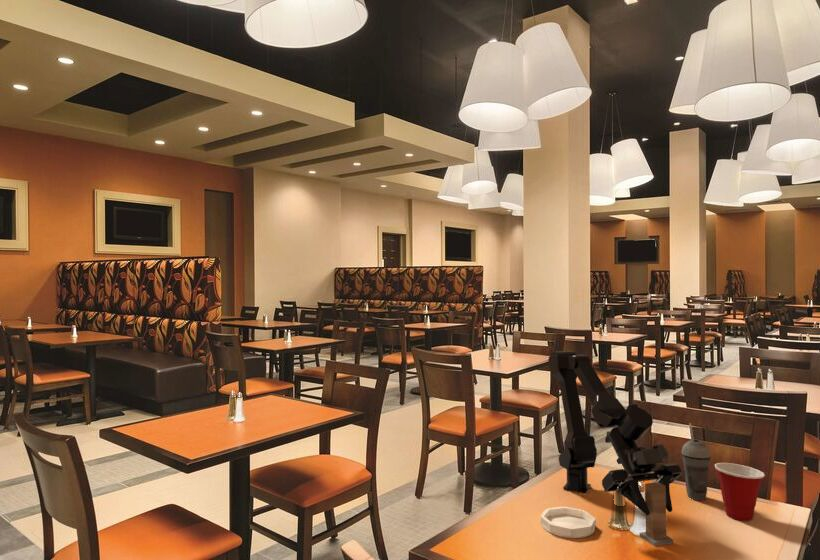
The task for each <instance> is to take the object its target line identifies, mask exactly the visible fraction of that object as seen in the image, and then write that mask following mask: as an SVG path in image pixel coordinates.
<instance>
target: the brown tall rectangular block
mask: <svg viewBox="0 0 820 560" xmlns="http://www.w3.org/2000/svg"><path fill="white" fill-rule="evenodd" d="M644 500H645V502H646V504H647V506H648V509H649V511H650V514H649V515H646V514H645V531H643V532H639V537H640V538H642V539H643V540H644V541H646V542H648V543H649V544H650V545H652V546H653V547H657V546H664V545H669V544H674V539H673V538H672V537H670V536H668V535H667V509H666V486H665V485H663V484H661V483H659V482H655V483H653V482H648V483H645V484H644Z"/></svg>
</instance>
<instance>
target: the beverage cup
mask: <svg viewBox="0 0 820 560" xmlns="http://www.w3.org/2000/svg"><path fill="white" fill-rule="evenodd" d="M689 429H690V430H689V431H690V436H691V439H689V440H688V441H686V442H685V443H684V444H683V445H682V448H681V453H680V455H681V460H682V462H683V463H682V464H683V470H684V472H683V474H684V479H685V480H684V481H685V482H684V483H685V488H686V489H685V490H686V494H687V495H686V496H688V497H689V498H691V499H690V500H692V499H693V501H696V500H699V501H698V502H703V500H704V501H706V500H707V495H708V483H709V482H708V480H709V469H710V467H709V466H710V463H711V458H712V456H711V451H710V449H709V447H708V446H707V445H706V444H705V443H704V442H703V441H700V440H699V439H694V433H693V426H692V423H689ZM688 497H687V498H688ZM689 498H688V499H689ZM705 499H706V500H705Z"/></svg>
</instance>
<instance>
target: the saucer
mask: <svg viewBox="0 0 820 560" xmlns="http://www.w3.org/2000/svg"><path fill="white" fill-rule="evenodd" d="M540 524H541V526H542V528H543V529H544V530H545V531H546V532H547V533H549V534H552V535H555V536H557V537H559V538H560V537H561V538H566V539H567V538H568V539H583V538H588V537H590V536H592V535H593V534H594V533H595V531H596V517H594V516H593V515H592V514H590V513H589V512H588V511H586V510H583V509H579V508H574V507H570V506H557V507H550V508H546V509H545V510H544V511H543V512H542V514H541V515H540Z"/></svg>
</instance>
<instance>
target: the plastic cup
mask: <svg viewBox="0 0 820 560" xmlns="http://www.w3.org/2000/svg"><path fill="white" fill-rule="evenodd" d="M714 467H715V470H716V473H717V477H718V478H717V479H718V480H719V486H720V492H721V498H722V502H723V506H724V511H725V514H726V516H727V517H729V518H730V519H732V520H736V521H740V522H741V521H743V522H748V521H752V520H753V518H754V515H755V510H756V505H757V502H758V501H757V500H758V496H759V489H760V486H761V483H762V480H763V479H764V477H765V476H766V475H765V472H763V471H761V470H759V469H756V468H754V467H751V466H747V465H742V464H738V463H732V462H731V463H729V462H717V463H715V464H714Z"/></svg>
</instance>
